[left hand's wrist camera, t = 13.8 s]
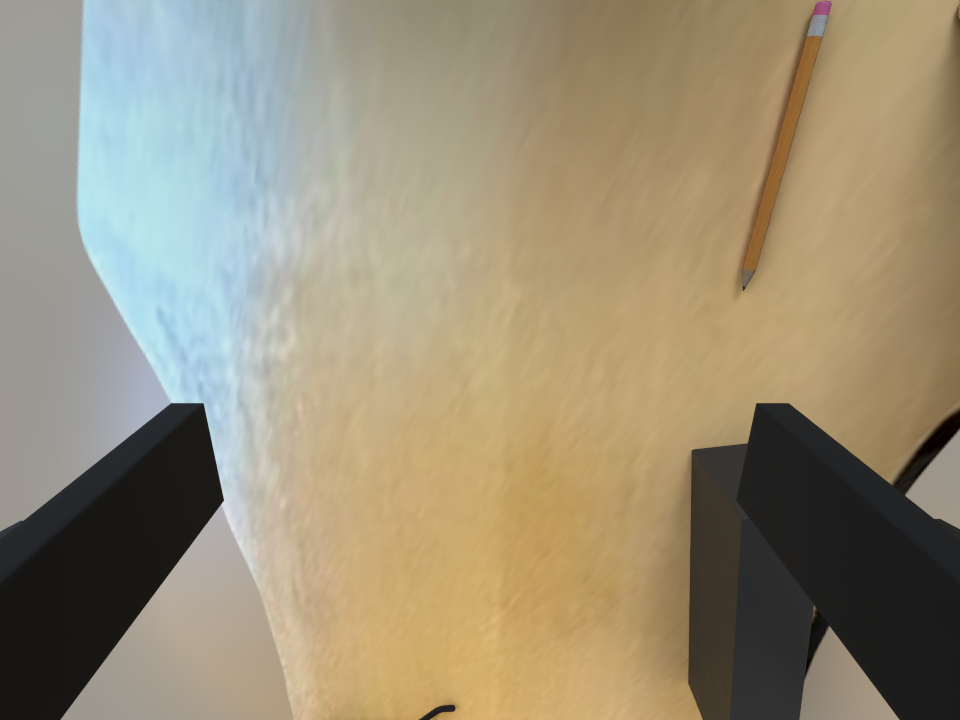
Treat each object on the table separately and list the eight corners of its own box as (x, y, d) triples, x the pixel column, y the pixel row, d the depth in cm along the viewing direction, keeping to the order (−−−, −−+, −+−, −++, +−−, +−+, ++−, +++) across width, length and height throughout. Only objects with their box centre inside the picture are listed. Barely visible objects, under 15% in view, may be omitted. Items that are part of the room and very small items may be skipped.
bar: (691, 449, 46) (741, 518, 37) (759, 441, 46) (826, 509, 37) (688, 682, 57) (726, 780, 48) (743, 677, 56) (792, 774, 48)
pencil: (812, 2, 34) (733, 289, 41) (828, -1, 33) (745, 292, 40) (820, 5, 34) (741, 288, 41) (836, 2, 33) (752, 292, 40)
